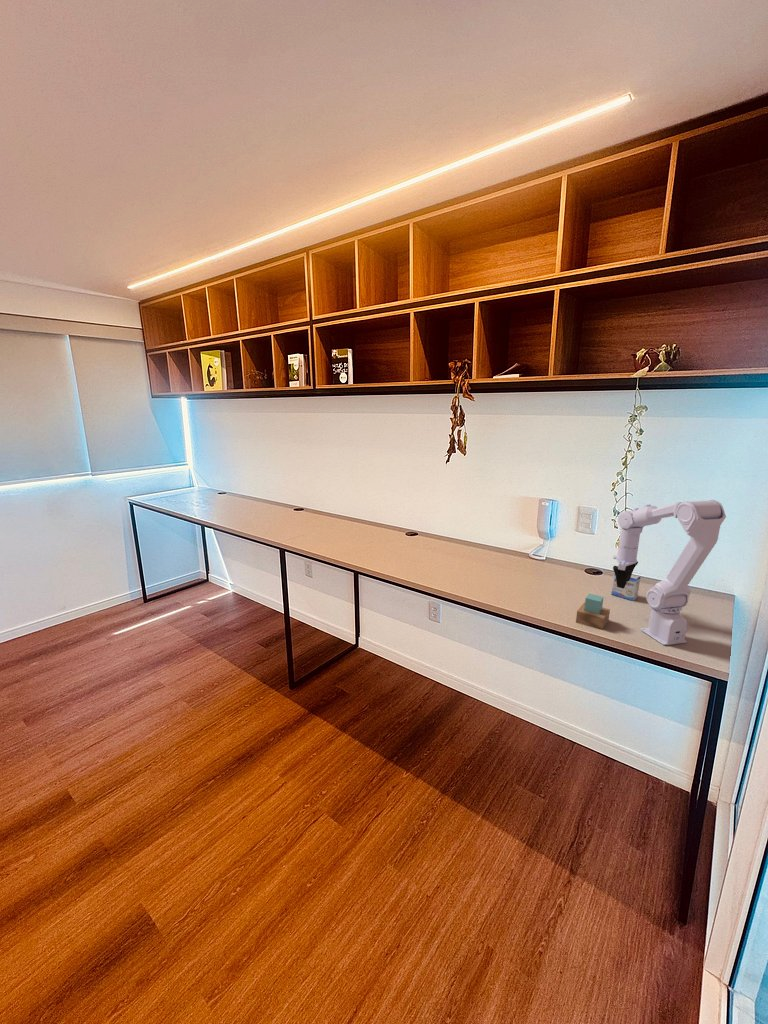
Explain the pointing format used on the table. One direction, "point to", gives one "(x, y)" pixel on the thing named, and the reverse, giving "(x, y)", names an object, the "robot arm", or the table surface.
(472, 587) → the table surface
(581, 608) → the walnut block
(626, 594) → the medicine box
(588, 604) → the teal cube
